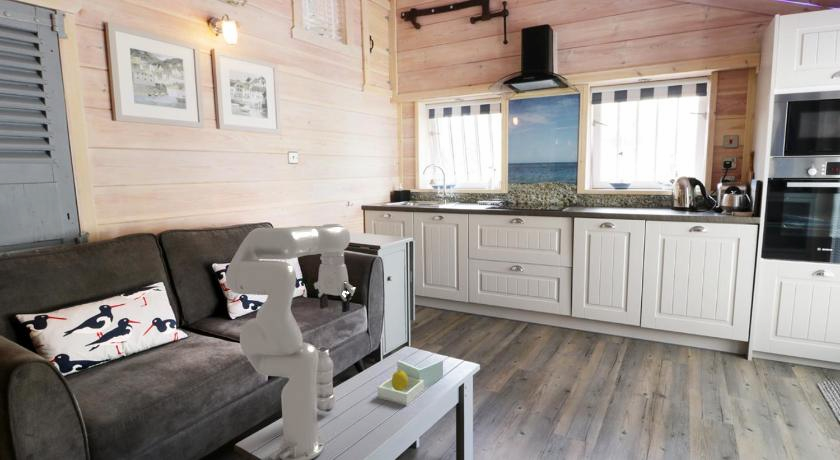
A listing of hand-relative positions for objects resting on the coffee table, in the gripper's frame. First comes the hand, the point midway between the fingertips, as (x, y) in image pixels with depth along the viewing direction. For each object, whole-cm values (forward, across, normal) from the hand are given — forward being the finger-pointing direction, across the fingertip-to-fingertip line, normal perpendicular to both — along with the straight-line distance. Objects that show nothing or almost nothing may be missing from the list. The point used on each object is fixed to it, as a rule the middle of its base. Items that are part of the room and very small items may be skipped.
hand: (334, 309), depth 155 cm
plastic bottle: (+31, +3, -10) cm, 32 cm away
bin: (+30, +20, +10) cm, 38 cm away
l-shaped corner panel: (+31, +20, +23) cm, 43 cm away
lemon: (+30, +19, +10) cm, 37 cm away
